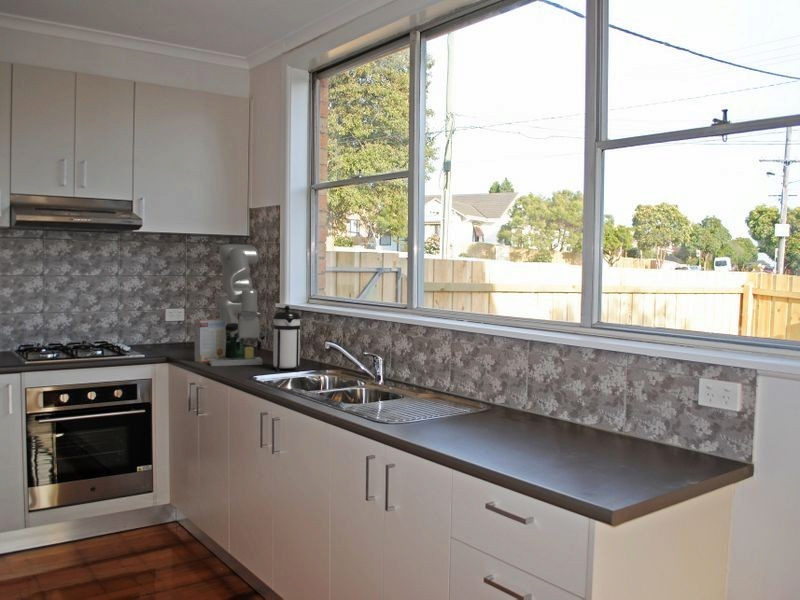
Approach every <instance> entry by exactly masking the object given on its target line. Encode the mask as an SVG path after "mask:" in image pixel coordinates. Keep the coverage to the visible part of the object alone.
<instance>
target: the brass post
mask: <svg viewBox="0 0 800 600" xmlns="http://www.w3.org/2000/svg"><path fill="white" fill-rule="evenodd" d="M243 348H244V359H254V357H255V355H254V349H255V348H254V347H253V346H243Z"/></svg>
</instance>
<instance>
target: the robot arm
mask: <svg viewBox="0 0 800 600" xmlns="http://www.w3.org/2000/svg"><path fill="white" fill-rule="evenodd" d="M218 251H219V259H220V263H221V266H222V267H221V268H222V273H221V274H222V277H221V279H222V280H221V285H222V286H221V288H222V290H223V292H224V293H226V295H224V296H221V297H220V298H219V299H218V308H219V316H220V317H219V319H222V320H225V329H226V325H227V324H229V323H237V324H238V329H237V330H235V331H233V332H231V336H232V338H233V339H234V340H235V341H236V348H237V350H240V342H239V341H240V339H241V338H243V339H257V343H256V344H257V345H256V346H257V348H256V349H257V351H260V349H261V348H262V342H263V340H265V338H266V336H267V333H268V332H267V331H264V330H262V329H260V320H259V317H258V316H261V312H260V311H258V291H257V290H256V289H255V288H253V281H252V280H253V279H252V278H251V277H250V276H249V275H250V273H251V269H250V264H253V265H254V264H257V263H258V262H259V259H260V255H259V251H258V249H257V248H256V247H255V246H253V245H251V244H239V243H238V244H236V243H235V244H233V243H231V244H230V243H228V244H223V245H220V247H219V249H218ZM234 314H240V317H239V318H237V316H235V315H234ZM236 333H238V338H236V337H235V336H234V334H236ZM261 334H262V336H260V335H261ZM225 351H226V331H225Z"/></svg>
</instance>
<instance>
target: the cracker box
mask: <svg viewBox="0 0 800 600" xmlns="http://www.w3.org/2000/svg"><path fill="white" fill-rule="evenodd" d="M193 323H194V325H193V326H194V330H193V331H194V362H196V363H207V362H208V363H210V358H225V320H222V319H220V318H217V319H196V320H194V322H193Z"/></svg>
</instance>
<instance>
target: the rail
mask: <svg viewBox="0 0 800 600" xmlns="http://www.w3.org/2000/svg"><path fill="white" fill-rule="evenodd" d="M209 365H210V366H211V367H219V366H220V367H221V366H253V365H254V366H257V365H263V358H262V357H260V356H257V357H256V356H254V359H244V357H240V358H210V362H209Z"/></svg>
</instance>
